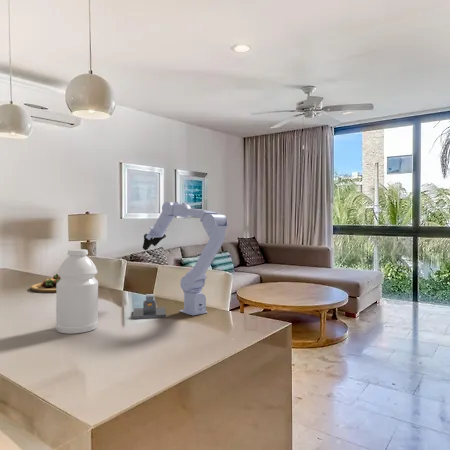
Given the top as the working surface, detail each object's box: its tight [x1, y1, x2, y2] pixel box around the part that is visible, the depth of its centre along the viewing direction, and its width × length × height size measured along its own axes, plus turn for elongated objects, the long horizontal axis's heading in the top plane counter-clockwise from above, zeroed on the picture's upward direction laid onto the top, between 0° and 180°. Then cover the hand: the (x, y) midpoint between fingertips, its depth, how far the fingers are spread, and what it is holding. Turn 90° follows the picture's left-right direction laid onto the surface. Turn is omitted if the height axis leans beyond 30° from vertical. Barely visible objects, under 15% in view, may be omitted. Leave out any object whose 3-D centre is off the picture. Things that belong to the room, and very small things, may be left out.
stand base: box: [132, 299, 167, 320], centre depth 152 cm, size 13×13×5 cm
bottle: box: [55, 248, 99, 335], centre depth 130 cm, size 14×14×28 cm
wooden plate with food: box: [30, 273, 61, 294], centre depth 212 cm, size 32×32×8 cm
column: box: [145, 293, 155, 303], centre depth 152 cm, size 3×3×7 cm
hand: (148, 246), depth 172 cm, fingers open, 7 cm apart
